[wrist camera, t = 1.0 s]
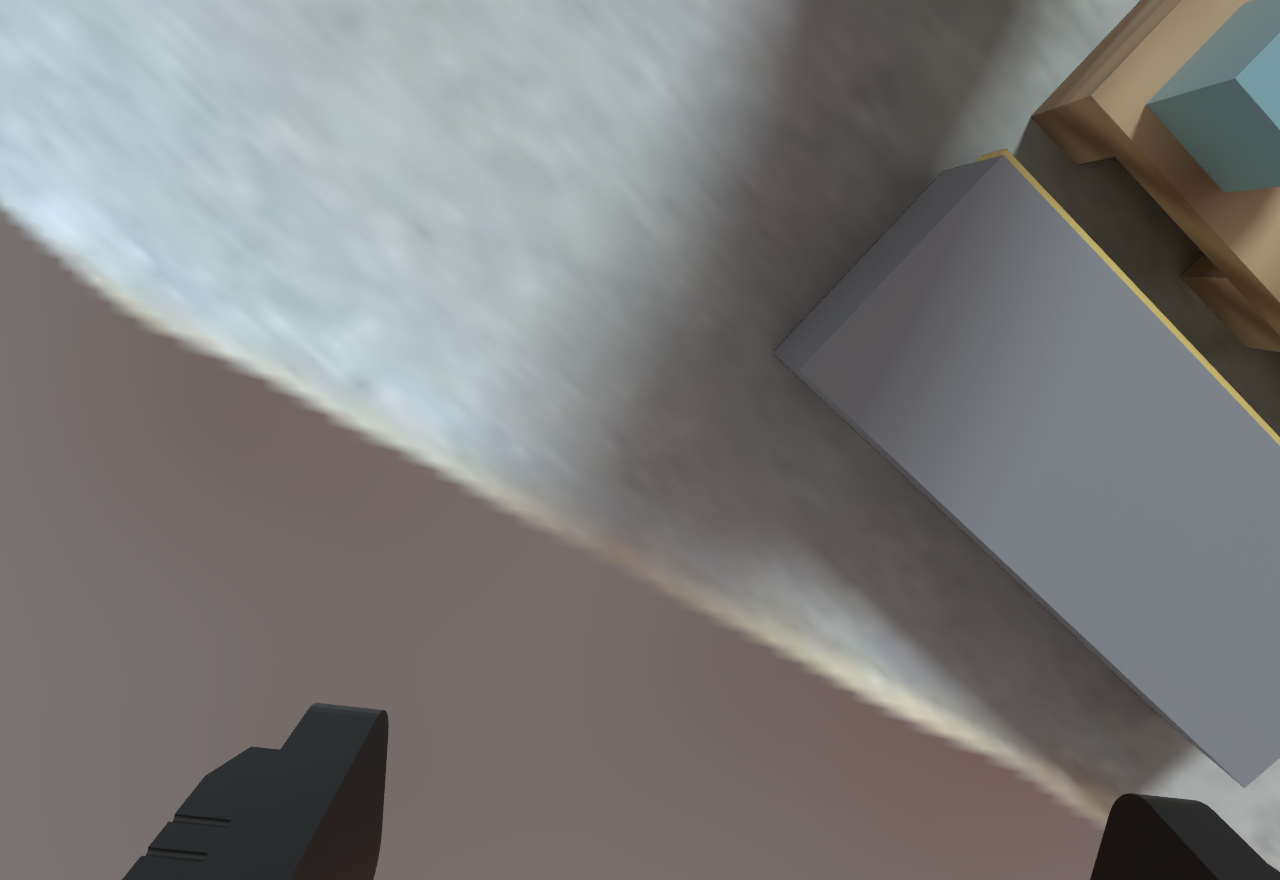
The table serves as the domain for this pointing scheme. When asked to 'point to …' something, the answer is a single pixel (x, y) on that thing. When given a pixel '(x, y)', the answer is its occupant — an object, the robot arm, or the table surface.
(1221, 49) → the block
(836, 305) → the dock
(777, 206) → the table surface
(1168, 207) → the board
